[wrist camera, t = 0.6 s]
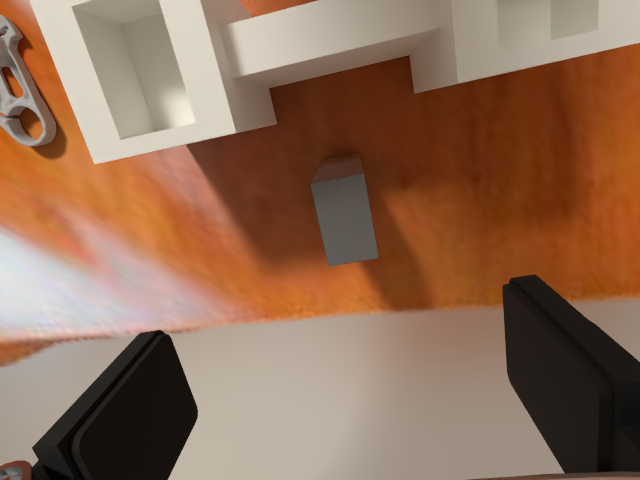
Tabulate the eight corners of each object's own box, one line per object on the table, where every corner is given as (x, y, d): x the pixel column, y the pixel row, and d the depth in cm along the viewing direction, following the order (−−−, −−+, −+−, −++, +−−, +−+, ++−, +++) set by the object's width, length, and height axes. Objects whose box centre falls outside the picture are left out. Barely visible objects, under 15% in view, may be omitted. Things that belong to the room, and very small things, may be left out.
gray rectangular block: (322, 159, 31) (310, 184, 21) (358, 152, 31) (364, 173, 20) (334, 216, 32) (328, 266, 22) (368, 210, 32) (378, 258, 22)
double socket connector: (152, 40, 29) (27, -5, 17) (517, -57, 25) (657, -192, 14) (185, 144, 31) (94, 164, 20) (522, 69, 28) (643, 41, 16)
